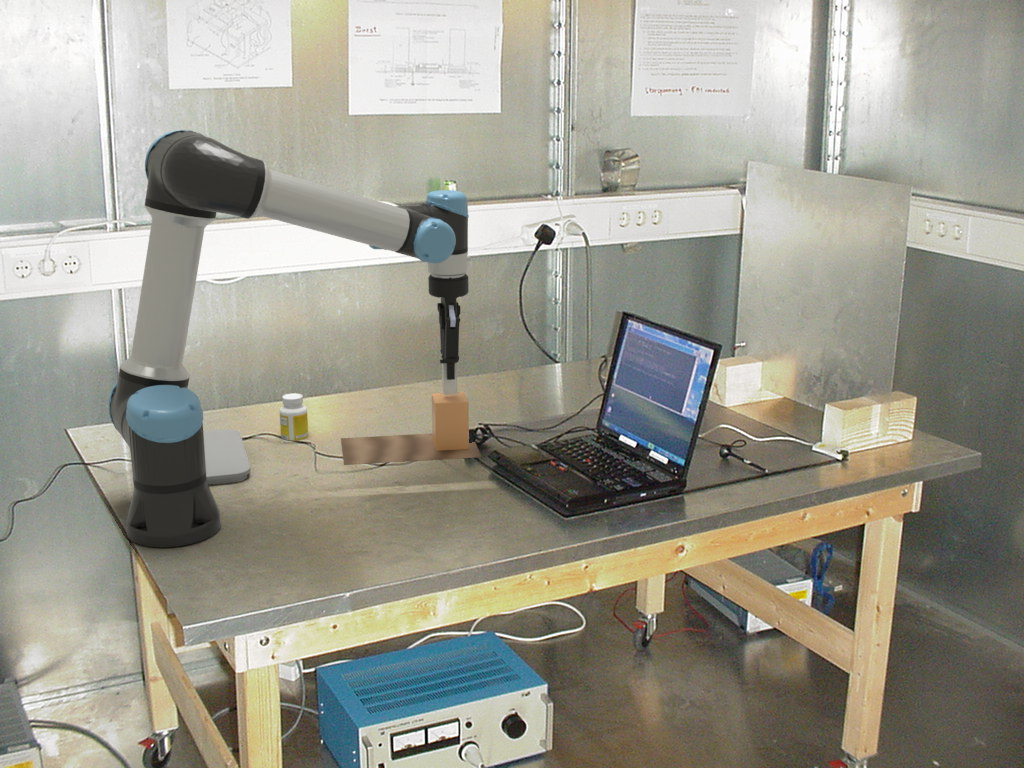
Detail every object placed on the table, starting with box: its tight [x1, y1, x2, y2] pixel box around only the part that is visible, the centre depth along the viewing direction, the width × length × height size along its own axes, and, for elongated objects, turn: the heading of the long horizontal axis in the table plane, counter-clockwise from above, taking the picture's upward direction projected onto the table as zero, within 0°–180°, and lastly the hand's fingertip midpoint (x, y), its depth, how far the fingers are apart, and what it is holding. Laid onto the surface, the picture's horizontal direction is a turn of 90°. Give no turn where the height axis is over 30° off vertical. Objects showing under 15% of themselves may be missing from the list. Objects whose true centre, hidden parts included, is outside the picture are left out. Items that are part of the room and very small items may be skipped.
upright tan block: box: [431, 391, 470, 451], centre depth 240 cm, size 6×6×10 cm
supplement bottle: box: [279, 392, 309, 441], centre depth 244 cm, size 5×5×10 cm
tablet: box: [203, 428, 251, 486], centre depth 235 cm, size 16×26×2 cm, turn 17°
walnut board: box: [340, 432, 482, 466], centre depth 239 cm, size 26×15×2 cm, turn 100°
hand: (450, 393), depth 238 cm, fingers closed
